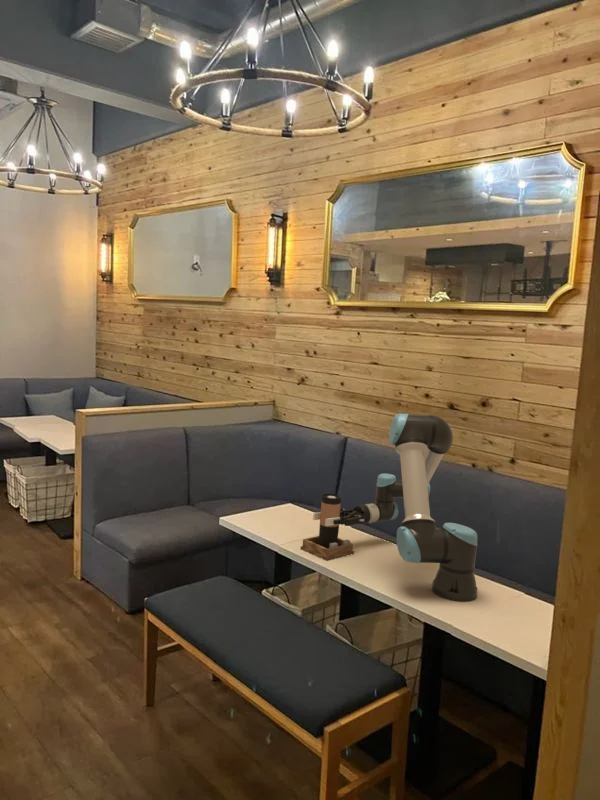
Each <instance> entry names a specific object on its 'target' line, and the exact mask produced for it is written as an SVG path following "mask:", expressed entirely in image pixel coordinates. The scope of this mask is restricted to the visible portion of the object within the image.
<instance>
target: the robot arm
mask: <svg viewBox="0 0 600 800" xmlns="http://www.w3.org/2000/svg"><path fill="white" fill-rule="evenodd" d="M388 437H389V438H388V441H389V444H390V445H392V446H394V448H395V452H396V453H397V454H398V455H399V456H400V457H399V458H400V459H399V460H400V469H401V479H397V478H396V475H394V474H391V473H381V474H378V476H377V480H376V485H375V486H376V488H375V490H376V491H375V503H366V504H358V505H355V506H354V508H352V509H349V508H348V509H346V508H345V507H340V517H337V518H328V519H325V526H332V525H339V526H340V525H341V526H343V525H344V526H345V527H348V526H353V525H362V524H363V525H365V524H367V523H368V524H372V523H376V522H385V521H386V522H387V521H393V520H395V519H396V518H397V517H398V515H399V509H398V504H397V503H396V502H395V501H394V499H396V498H397V499H403V507H404V508H403V509H404V519H403V520H402V522H401V524H400V525H401V526H400V527H398V528H397V531H396V546H397V551H398V554H399V555H400V557H401V559H402V560H403V561H405V562H407V563H415V564H419V563H423V564H425V563H426V564H427V563H428V564H439V567H438V569H437V572H436V574H435V578H434V579H433V580H432V584H431V591H433V593H435V594H436V595H438V597H441V598H445V599H448V600H452V601H456V602H458V601H459V602H468V601H469V602H470V601H473V600H475V599H477V597H478V587H477V582H476V577H475V566H476V559H477V558H476V557H477V548H478V533H477V531H475V530H474V529H473V528H471V527H469V526H466V525H463V524H459V523H455V522H444V523H443V525H442V527H441V528H440V527H437V525H436V520H435V519H434V518H432V517H431V509H430V501H429V496H430V493H431V485H430V481H431V480H432V478H433V476H434V474H435V472H436V471H437V468H438V466H439V464H440V462H441V460H443V458H444V457H443V456H444V455H446V454H447V453H449V451H450V449H451V447H452V444H453V441H454V435H453V430H452V428H451V426H450V425H449V424H448V421H446V420H445V419H444V418H443V417H440V416H438V415H433V414H430V415H429V414H415V413H397V414H396V415H394V416H393V418H392V421H391V424H390V428H389V433H388ZM320 515H321V511H319V512H313V516H312V517H313V518H312V520H313V521H318V520H319V521H320Z"/></svg>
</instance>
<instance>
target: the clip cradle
mask: <svg viewBox="0 0 600 800" xmlns="http://www.w3.org/2000/svg"><path fill="white" fill-rule="evenodd" d="M353 548H354V543H352V542H351V540H350V539H342V538H339V537H338V540H337V543H330V544H329V548H325V547H322V546H320V545H319V535H315V536H312V537H311V536H310V537H308V538H304V539H303V538H302V545H301V546H300V550H302V551H304V552H307V553H308V552H309V554H311V555H312V556H315V557H317V558H319V559H321V558H322V559H321V560H324V561H326V562H327V561H331V560H336V559H340V558H344V557H347V555H348V556H352V555H354V554H355V551H354V549H353ZM351 554H352V555H351ZM343 556H344V557H343ZM335 558H336V559H335Z"/></svg>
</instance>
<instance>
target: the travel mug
mask: <svg viewBox="0 0 600 800" xmlns="http://www.w3.org/2000/svg"><path fill="white" fill-rule="evenodd" d="M341 502H342V496H340V495H339V494H336V493H323V494H322V496H321V503H320V505H321V507H320V512H321V515H320V520H319V531H318V534H319V535H318V536H319V545H320V546H322V547H325V548H329V544H330V543H337V540H338V538H339V529H340V524H339V525H332V526H325V519H328V518H337V517H340V508H342V507H341V505H342V504H341Z"/></svg>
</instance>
